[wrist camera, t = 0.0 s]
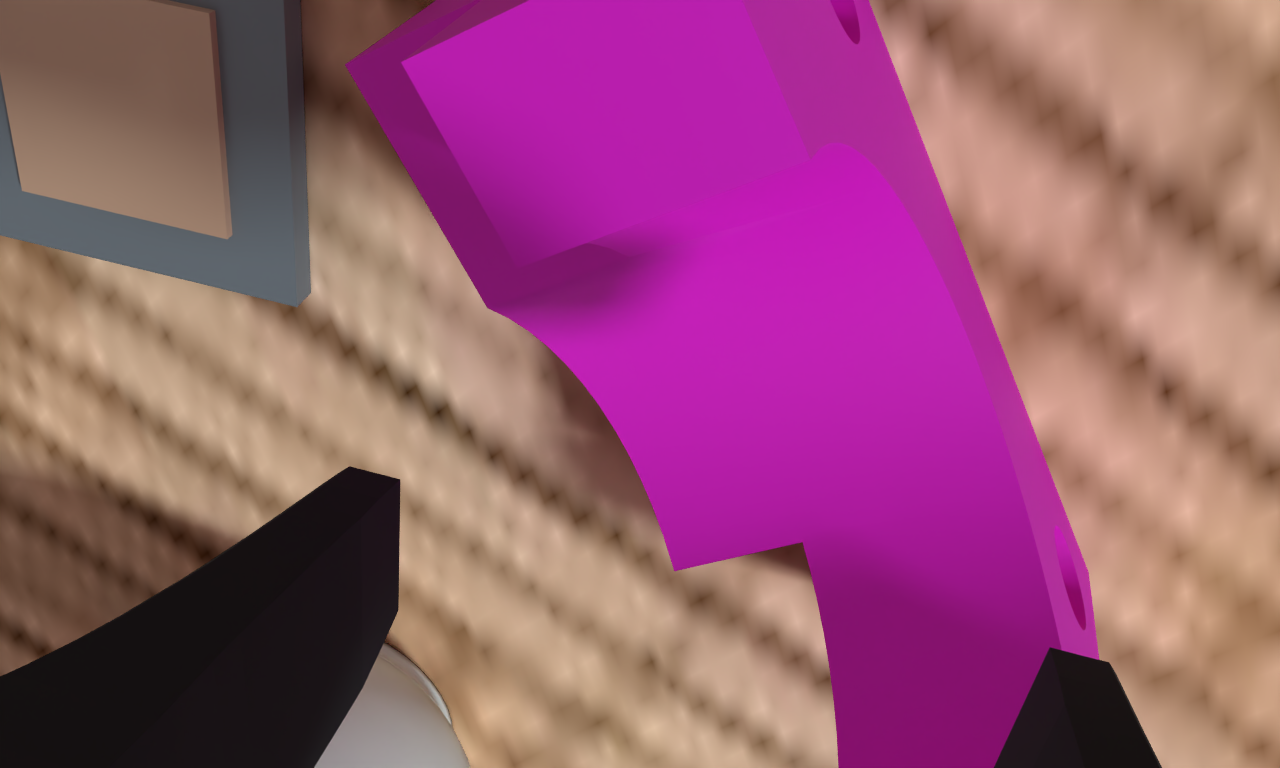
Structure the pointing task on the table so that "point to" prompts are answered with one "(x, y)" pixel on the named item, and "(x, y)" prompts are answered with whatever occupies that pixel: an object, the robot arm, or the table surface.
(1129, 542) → the table surface
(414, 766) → the lidded jar
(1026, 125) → the table surface
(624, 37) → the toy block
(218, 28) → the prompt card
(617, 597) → the table surface
